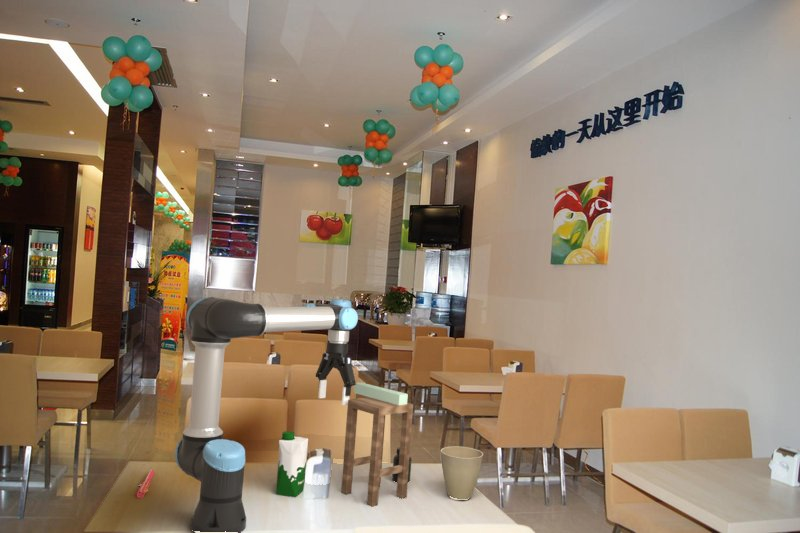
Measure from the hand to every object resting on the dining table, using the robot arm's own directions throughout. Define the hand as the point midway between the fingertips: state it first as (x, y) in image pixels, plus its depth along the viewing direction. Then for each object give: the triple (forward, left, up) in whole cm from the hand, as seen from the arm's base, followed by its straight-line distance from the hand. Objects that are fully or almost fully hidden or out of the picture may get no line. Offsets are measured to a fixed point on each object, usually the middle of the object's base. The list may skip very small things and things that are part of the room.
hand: (333, 401), depth 218 cm
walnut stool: (+7, -17, -29) cm, 35 cm away
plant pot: (+31, -35, -30) cm, 56 cm away
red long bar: (-52, +31, -30) cm, 68 cm away
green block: (+11, -12, +3) cm, 17 cm away
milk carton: (-16, 0, -30) cm, 34 cm away
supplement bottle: (+26, -11, -30) cm, 41 cm away
